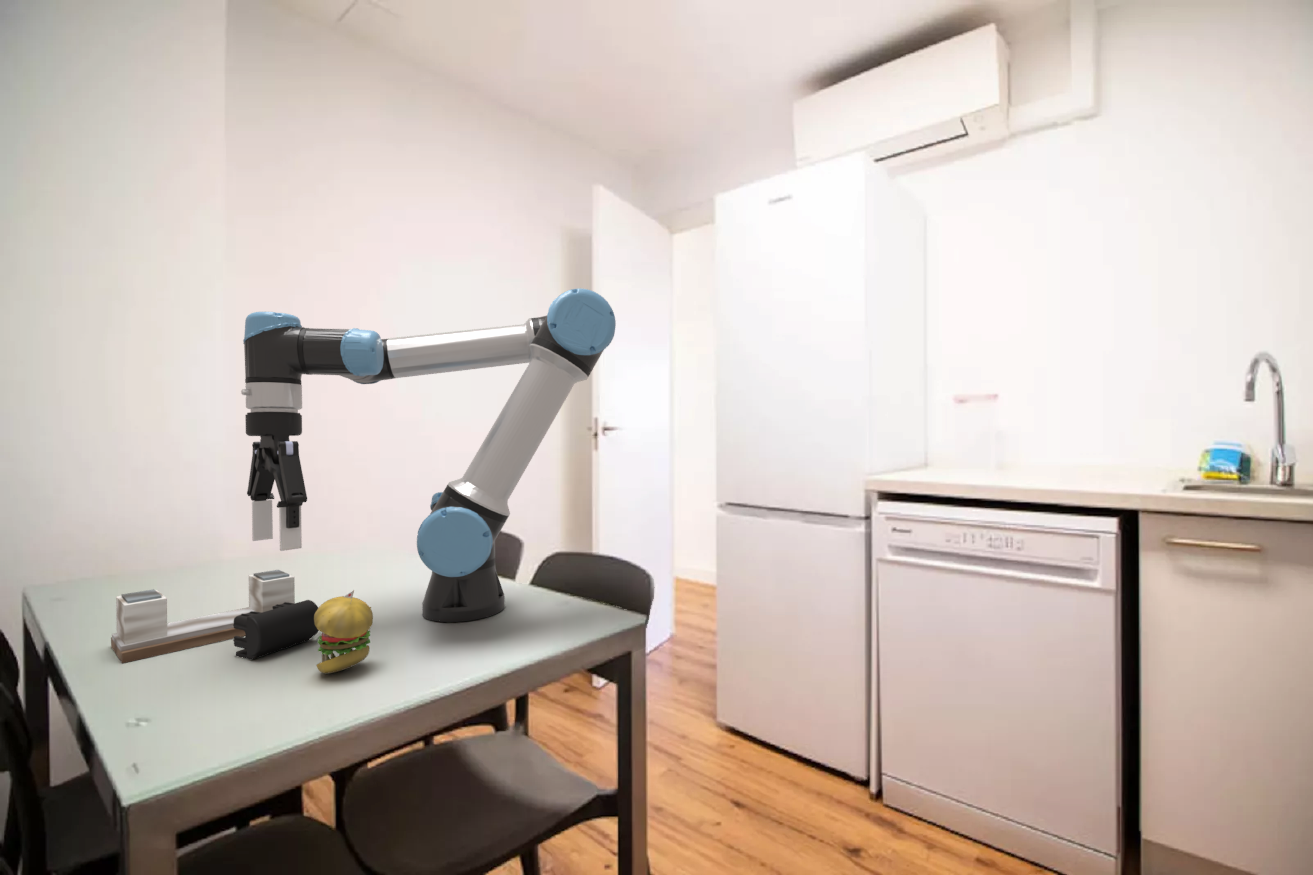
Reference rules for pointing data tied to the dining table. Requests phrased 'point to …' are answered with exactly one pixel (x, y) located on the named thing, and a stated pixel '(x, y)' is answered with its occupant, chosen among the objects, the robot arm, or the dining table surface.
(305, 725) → the dining table surface
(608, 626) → the dining table surface
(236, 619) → the end cap
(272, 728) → the dining table surface
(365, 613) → the hamburger
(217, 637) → the rail board
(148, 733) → the dining table surface
